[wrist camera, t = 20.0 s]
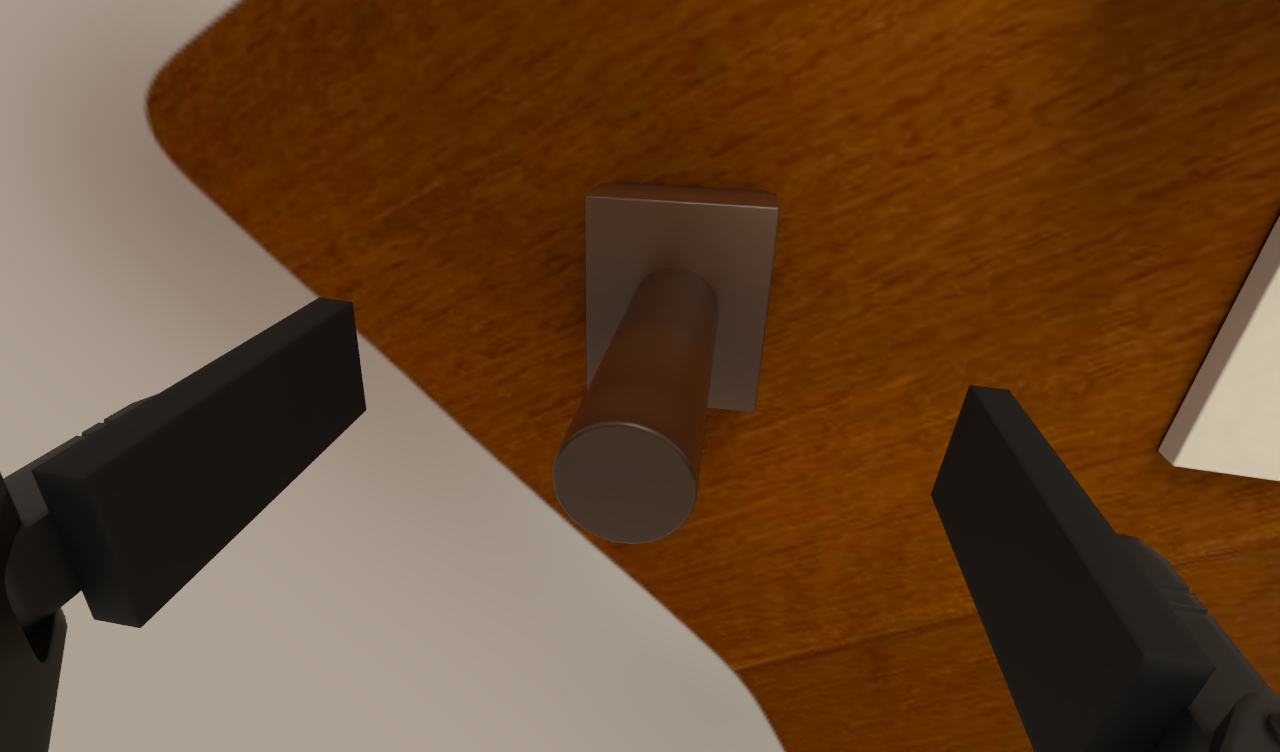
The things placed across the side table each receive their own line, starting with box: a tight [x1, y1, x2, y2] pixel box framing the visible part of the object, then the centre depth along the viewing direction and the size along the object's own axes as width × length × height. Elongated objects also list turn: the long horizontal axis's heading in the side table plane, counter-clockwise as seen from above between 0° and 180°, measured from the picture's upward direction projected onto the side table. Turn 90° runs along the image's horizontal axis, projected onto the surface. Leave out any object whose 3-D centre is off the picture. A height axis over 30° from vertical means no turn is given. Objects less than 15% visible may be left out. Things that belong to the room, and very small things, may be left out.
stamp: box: [552, 182, 780, 544], centre depth 17 cm, size 6×5×12 cm
